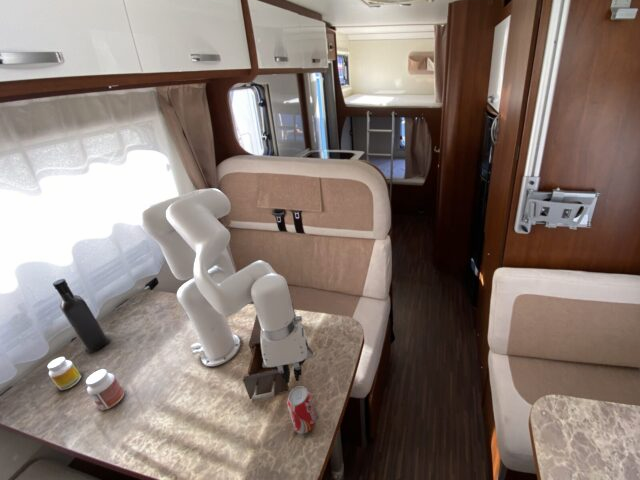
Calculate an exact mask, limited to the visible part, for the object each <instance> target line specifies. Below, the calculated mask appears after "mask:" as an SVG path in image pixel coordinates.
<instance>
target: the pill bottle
mask: <svg viewBox="0 0 640 480" xmlns="http://www.w3.org/2000/svg"><path fill="white" fill-rule="evenodd" d="M85 383H86V386H87V389H86V391H87V393H88V395H89V396H90V398H91V399H92V401H94V403H95V404H96V406H97V407H98V409H99V410H103V411H105V410H109V409H111V408H113V407H115V405H117V404H118V403H120V401H122V399H123V397H124V395H125V391H124V389H123V388H122V386H121V384H120V382H118V380H117V378H116V377H115V375H114V374H113V373H110V372H108V371H107V370H106V369H104V368H102V369H99V370H96V371H94V372H92V373H91V374H90V375H89V376H88V377H87V379H86V380H85Z"/></svg>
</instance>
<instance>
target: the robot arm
mask: <svg viewBox="0 0 640 480" xmlns="http://www.w3.org/2000/svg"><path fill="white" fill-rule="evenodd" d="M231 210H232V204H231V201H230V199H229V198H228V196H227V195H226V194H225V193H224V192H223V191H221V190H219V189H218V188H215V187H213V188H211V187H210V188H209V187H208V188H202V189H195V190H193V191H190V192H189V191H188V192H187V193H184V194H181V195H178V196H175V197H172V198H169V199H165V200H162V201H160V202H157V203H155V204H153V205H152V204H151V205H149V206H147V207H146V208H144V209H142V210H141V211H140V212H139V214H138V222H139V225H140V227H141V228H142V230H143V231H144V232H145V234H147V235H148V236H149V237H150V238H151V239H153V240H154V241H155V242H156V243H157V244H158V246H159V248H160V250H161V252H162V254H163V256H164V258H165V260H166V263H167V265H168V267H169V269H170V271H171V273H172V275H173V276H174V278H175V279H177V280H179V281H186V280H188V281H186V282H185V283H183V284H182V285H180V287H178V289H177V292H176V298H177V301H178V303H179V304H180V306H181V307H182V309H183V310H184V311H185V313H186V314H187V316H188V318H189V320H190V322H191V324H192V327H193V329H194V331H195V333H196V336H197V338H198V341H199V343H198V342H197V343H193V344H191V346H190V347H191V349H190V350H191V351H192V355H193V356H195V355H199V354H200V360H201V363H202V364H203V365H204V366H207V367H218V366H221V365H223V364H225V363H227V362H228V361H230V360H231V359H232V358H233V357H235V356H236V354H237V353H238V351H239V350H240V347H241V339H240V338H239V336H238V335H237V334H234V333H233V332H232V329H231V326H230V324H229V321H228V318H227V317H229V316H232V315H235V314H236V313H238V312H239V311H241V310H242V309H244V308H245V307H247V306H248V305H249V304H250V303H252V302H253V306H254V309H255V312H256V315H257V316H258V319H259V323H260V326H261V334H260V341H261V350H262V356H263V360H264V361H263V365H262V366H263V367H268V368H270V367H271V368H273V369H275V370H278V372H279V373H281V374H282V378H283V379H285V382H286V384H288V385H289V383H290V381H291V370H290V364H293V376H294V379H295V382H300V376H302V373H303V372H302V365H304V363H306V361H308V360H311V358H313V357H314V351H313V350H312V349H311V348H310V347H309V339H308V336H307V333H306V331H305V328H304V326H303V324H302V322H303V316H302V315H301V314H300V315H299V314H298V315H297V314H296V311H295V310H294V311H293V307H294V305H293V306H292V303H293V302H292V298H291V293H290V290H289V286H288V281H287V280H286V278H285V277H284V276H283V275H281V274H278V273H277V272H276V271H275V270H274V268H273V267H272V265H271V264H270V263H268V262H266V261H265V260H262V259H261V260H260V259H259V260H256V261H253V262H252V263H250V264H248V265H247V266H245V267H243V268H242V269H240V270H238V271H237V272H236V270H235V267H234V265H233V261H232V259H231V256H230V254H229V251H228V249H227V246H229V243H230V241H231V232H230V231H229V230H228V229H227V227H225V225H223V224H222V223H221V222H220V221H219V219H221V218H223V217H225V216H227V215H229V213H231ZM288 364H289V366H288Z"/></svg>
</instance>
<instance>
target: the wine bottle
mask: <svg viewBox="0 0 640 480" xmlns="http://www.w3.org/2000/svg"><path fill="white" fill-rule="evenodd" d="M52 286H53V287H54V289H55V290H56V291H57V293H58V294H59V296H60V298H61V300H62V301H61V302H60V304H59V307H60V308H59V309H60V310H61V311H62V313H63V315H64V317H65V318H66V319H67V321H68V323H69V324H70V326H71V327H72V329H73V331H74V332H75V333H76V336H77V337H78V338H79V340H80V341H81V343H82V344H83V346H84V348H85V349H86V350H87V351H88V352H89V353H93V352H96V351H97V350H99V349H100V348H102V347H104V346H105V345H107V344H108V343H109V340H108V338H107V336H106V334H105V333H104V331H103V329H102V326H100V323H99V322H98V320H97V319H96V318H95V316H94V313H93V312H92V310H91V309H90V307H89V306H88V304H87V302H86V300H84V298H83V297H82V296H81V295H77V294H74V293H73V292H72V290H71V288H70V287H69V285H68V282H67V281H66V279H65V278H61V279H57V280H55V281H54V282H52Z"/></svg>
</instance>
